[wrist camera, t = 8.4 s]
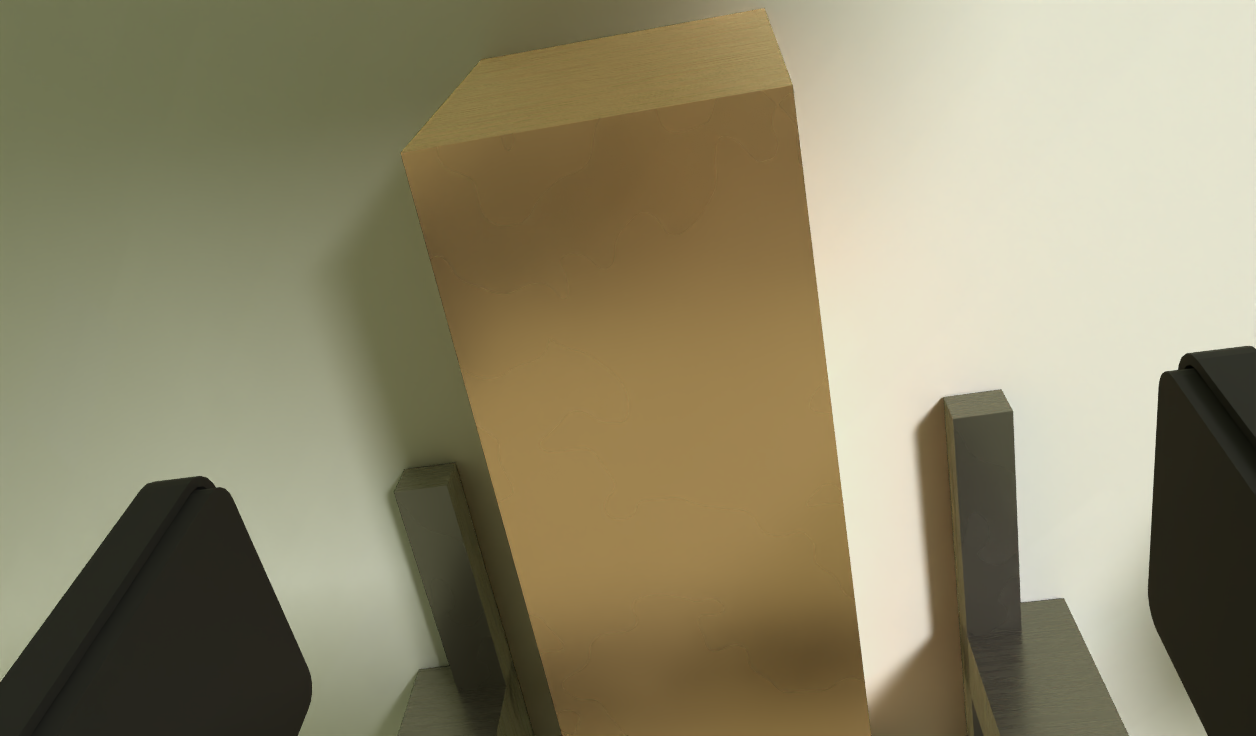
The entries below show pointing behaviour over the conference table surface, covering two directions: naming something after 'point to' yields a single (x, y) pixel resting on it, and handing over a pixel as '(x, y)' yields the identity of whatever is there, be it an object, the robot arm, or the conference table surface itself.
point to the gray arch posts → (986, 589)
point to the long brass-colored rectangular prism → (651, 376)
